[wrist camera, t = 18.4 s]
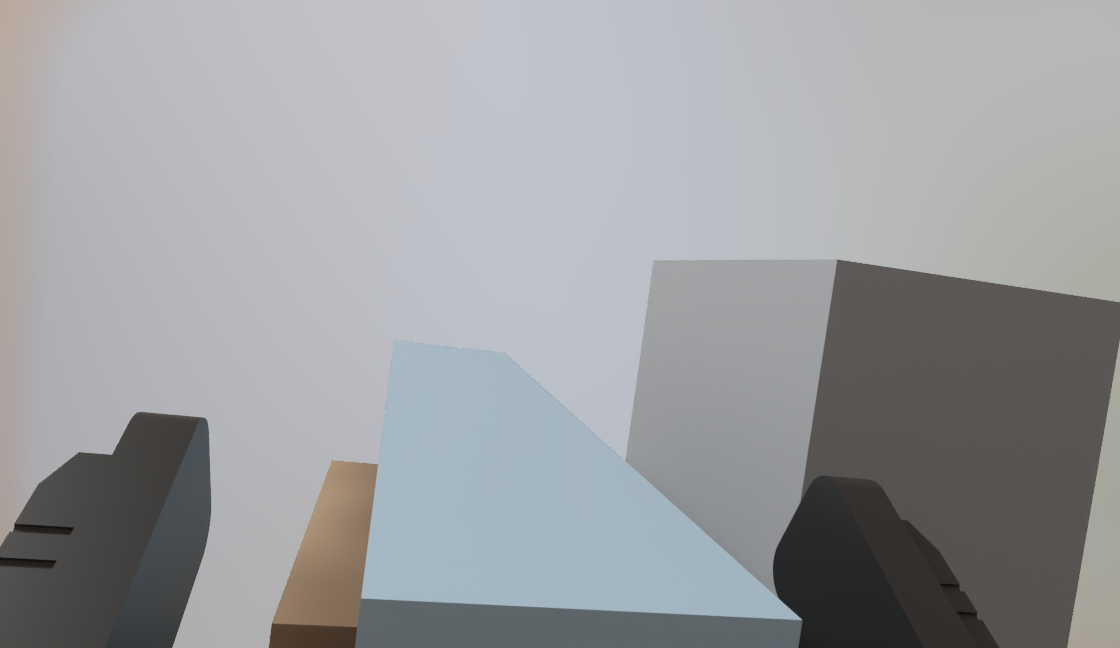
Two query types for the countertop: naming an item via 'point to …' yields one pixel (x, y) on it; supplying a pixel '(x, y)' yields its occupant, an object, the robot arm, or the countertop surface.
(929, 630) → the robot arm
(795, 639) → the beam
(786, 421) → the block
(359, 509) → the block
